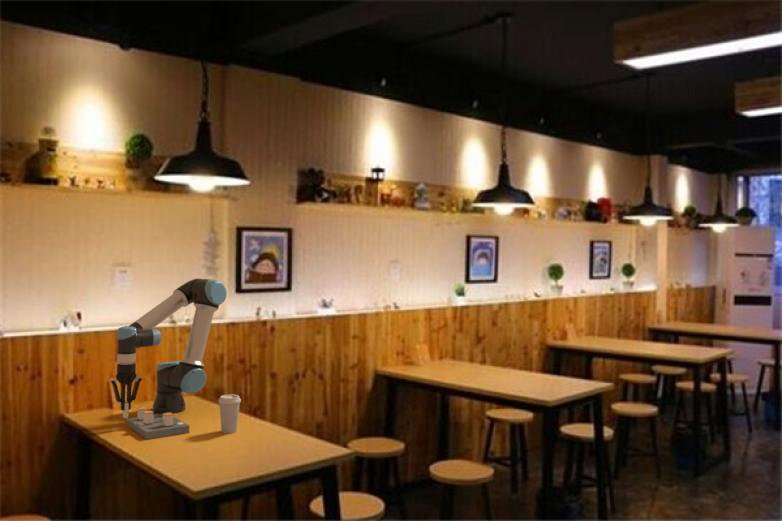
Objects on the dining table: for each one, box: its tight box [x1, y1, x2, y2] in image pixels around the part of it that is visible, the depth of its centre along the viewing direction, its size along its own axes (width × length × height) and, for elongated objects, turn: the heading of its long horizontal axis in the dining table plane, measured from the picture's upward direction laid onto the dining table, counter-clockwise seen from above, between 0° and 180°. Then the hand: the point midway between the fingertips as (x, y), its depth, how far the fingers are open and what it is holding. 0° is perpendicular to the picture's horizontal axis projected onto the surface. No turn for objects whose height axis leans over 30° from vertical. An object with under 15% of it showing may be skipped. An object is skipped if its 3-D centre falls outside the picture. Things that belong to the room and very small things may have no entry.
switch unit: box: [126, 413, 190, 440], centre depth 297 cm, size 18×26×3 cm
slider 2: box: [162, 413, 174, 426], centre depth 292 cm, size 3×4×5 cm
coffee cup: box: [217, 393, 242, 434], centre depth 296 cm, size 10×10×15 cm
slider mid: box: [143, 409, 155, 424], centre depth 294 cm, size 3×4×5 cm
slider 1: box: [136, 406, 148, 420], centre depth 301 cm, size 3×4×5 cm
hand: (125, 417), depth 296 cm, fingers closed
